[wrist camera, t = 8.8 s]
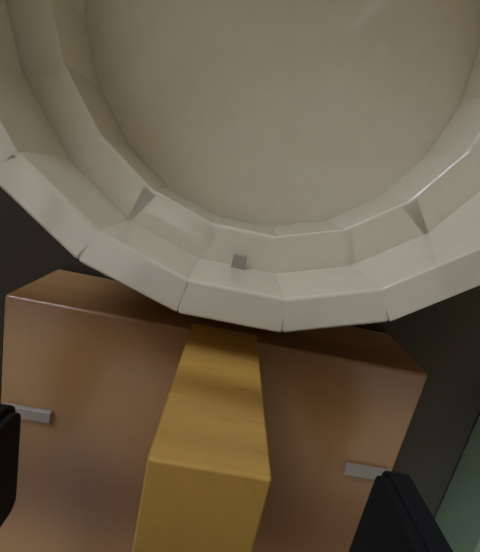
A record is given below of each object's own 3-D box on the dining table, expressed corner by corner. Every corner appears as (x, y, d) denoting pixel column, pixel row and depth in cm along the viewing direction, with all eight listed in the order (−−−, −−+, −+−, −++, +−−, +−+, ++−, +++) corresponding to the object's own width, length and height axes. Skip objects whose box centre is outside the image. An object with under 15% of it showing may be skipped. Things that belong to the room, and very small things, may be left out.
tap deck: (63, 200, 12) (3, 207, 9) (408, 271, 13) (462, 300, 10) (38, 515, 15) (-12, 598, 12) (312, 558, 16) (329, 648, 13)
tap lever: (192, 322, 10) (141, 471, 5) (257, 334, 10) (274, 494, 5) (153, 533, 12) (88, 802, 7) (208, 542, 12) (184, 814, 7)
